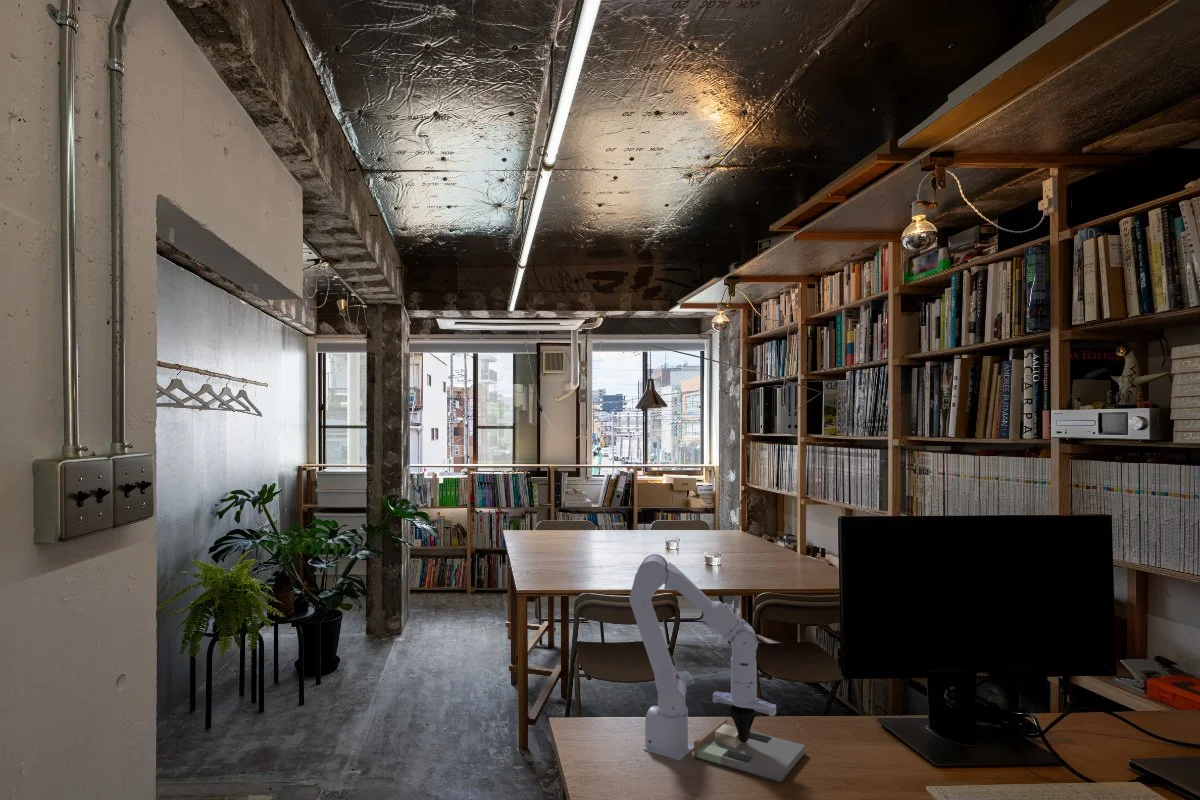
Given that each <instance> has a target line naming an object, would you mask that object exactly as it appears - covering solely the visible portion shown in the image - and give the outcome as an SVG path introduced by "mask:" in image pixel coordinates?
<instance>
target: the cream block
mask: <svg viewBox="0 0 1200 800" xmlns="http://www.w3.org/2000/svg"><path fill="white" fill-rule="evenodd" d="M715 743H718V744H722V745H725V746H729V747H733V748H736V747H737V746H738V745H739V744H741V743H742V742H740V740H739V735H738V731H737V728H736V726H733V725H729V724H727V725H726V724H723V725H722V726H721V727H720V728H718V729H717V730H716V731H715Z"/></svg>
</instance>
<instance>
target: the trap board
mask: <svg viewBox="0 0 1200 800" xmlns="http://www.w3.org/2000/svg"><path fill="white" fill-rule="evenodd" d="M723 724H726V725H728V719H727V718H725V717H723V718H721V719H720V720H719V721H718V722H716V723H715V724H714V725H713V726H712V727H710V728H709V729H708V730H707V731H706V732H704V733H703V734H702V735H700V736H699V737H698V738H697V739H696V740H695V741H693V745H694V749H693V759H696V760H698V761H703V762H707V763H709V764H713V765H717V766H719V767H723V768H727V769H730V770H733V771H736V772H741V773H744V774H747V775H751V776H754V777H758V778H761V779H765V780H768V781H771V782H775V783H779V784H782V783H783V782H784V780H785V779H787V777H788V775H790V774H791V772H792V771H793V770H794V768H795V767H797V765H798V764H799V763H800V761H801V760H802V759H803V758H804V757H805V755H806V745H805V744H802V743H798V742H794V741H790V740H786V739H783V738H779V737H776V736H771V735H767V734H763V733H760V732H756V731H752V730H750V733H749V739H748V741H747V742H745V743H744V742H742V743H741V744H739V745H738V746H737V747H736V748H733V747H729V746H725V745H722V744H718V743H715V731H716V730H717V729H718V728H720V727H721V726H722V725H723Z"/></svg>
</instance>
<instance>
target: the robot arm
mask: <svg viewBox="0 0 1200 800" xmlns="http://www.w3.org/2000/svg"><path fill="white" fill-rule="evenodd" d="M663 585H664V588H663V589H664V590H668V591H670V590H671V591H672V590H673V591H674V590H675V591H676V592H678V593H680V594H681V595H682V596H683V597H684V598H685V599H687V601H689V602H690V603H691V604H693V605H694V606H695V607H697V608H698V609H699V610H700V611H701V612H702V613H703V620H704V622H705V623H706V624H707V625H709V626H710V627H711V628H712V629H713V630H714V631H715V632H716V633H717V634H719V635H720V636H721V637H722V638H724V639H723V640H726V641H728V642H730V646H731V658H730V692H722V691H714V692H713V693H712V703H715V704H717V703H720V704H725V705H729V706H731V708H730V709H729V715H730V717H731V718H732V721H733V723H734V724H735V727H736V728H737V731H738V735H739V740H740V742H744V743H745V742H747V741H748V739H749V733H750V731H751V729H752V725H753V722H754V720H755V718H756V716H757V714H758V713H763V714H766V715H768V716H769V717H774V716H775V715H776V714H777V705H776V704H773V703H771V702H768V701H766V700H762V699H760V698H758V694H757V691H758V689H757V688H758V687H757V684H758V683H757V682H758V681H757V674H758V673H757V671H758V670H757V658H756V657H757V650H758V645H759V643H758V639H757V636H756V632H755V630H754V628H753V627H752V626H751V624H750V623H748V622H746V620H745V619H744V618H739V617H738V615H736V614H735V613H734V612H733V611H732V610H731V609H730V607H731V606H730V605H729V604H728V603H727V602H725V603H723V602H722V601H720V600H711V599H710V598H709V597H708V596H707V594H705V593H704V591H702V589H700V588H699V587H698V586H697V585H696V584H695V583H694V582H693V581H691V579H690V578H689V577H687V576H686V575H685V574H684V573H683V572H682V571H681V570H680V569H679V568H678V567H677V566H675V564H674V563H671V562H670V561H667V560H666V558H665V557H664V556H662V555H661V554H657V553H652V554H649V555H648V556H646V557H645V558H644V559H643V561H642V563H641V564H640V565H639V567H638V569H637V571H636V573H635V575H634V579H633V583H632V587H631V590H630V593H629V599H628V600H629V603H630V607H631V610H632V612H633V615H634V619H635V622H636V624H637V625H636V626H637V628H638V631H639V633H640V636H641V639H642V642H643V645H644V648H645V651H646V654H647V656H648V660H649V663H650V665H651V669H652V672H653V674H654V681H655V682H654V683H655V687H656V691H657V700H656V701H657V705H652V706H650V707H649V708H648V710H647V712H646V715H645V719H644V720H645V721H644V725H645V726H644V727H645V728H644V729H645V730H644V732H645V733H644V736H645V737H644V738H645V739H644V742H645V743H644V746H643V751H646V752H649V753H651V754H652V753H653V754H656V755H659V756H662V757H666V758H669V759H672V760H675V761H681V760H682V759H684V758H685V757H686V756H687V755H689V754H690V753H691V752H692V751H694V744H690V743H689V718H688V717H689V709H688V706H687V705H686V704H687V703H686V702H687V701H686V693H687V684H686V682H685V681H684V679H683V678H682V677H681V676H680V675H679V673H678V671H677V668H676V667H675V665H674V663H673V661H672V657H671V655H670V652H669V648H668V646H667V643H666V640H665V638H664V633H663V632H662V628H661V625H660V623H659V622H660V621H659V620H658V617H657V613H656V611H655V609H654V605H653V602H652V599H653V596H655V592H656V591H658V590H659V589H660V588H661V587H662V586H663Z"/></svg>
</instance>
